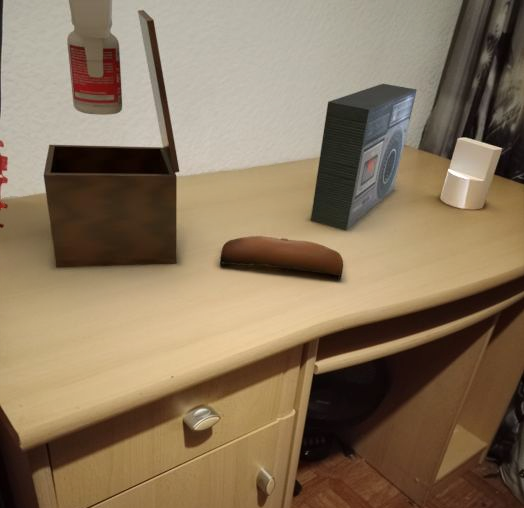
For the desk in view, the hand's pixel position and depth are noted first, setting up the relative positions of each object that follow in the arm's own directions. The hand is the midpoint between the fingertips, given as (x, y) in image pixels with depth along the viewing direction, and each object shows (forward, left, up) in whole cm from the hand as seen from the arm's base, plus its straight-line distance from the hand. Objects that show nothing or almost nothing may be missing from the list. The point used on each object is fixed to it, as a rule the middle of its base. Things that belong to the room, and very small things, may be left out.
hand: (95, 70), depth 69 cm
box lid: (+7, 0, -2) cm, 8 cm away
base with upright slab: (+73, +18, -24) cm, 79 cm away
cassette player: (+48, +17, -24) cm, 56 cm away
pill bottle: (0, 0, -5) cm, 5 cm away
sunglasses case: (+25, -8, -24) cm, 36 cm away
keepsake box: (+1, 0, -24) cm, 24 cm away
